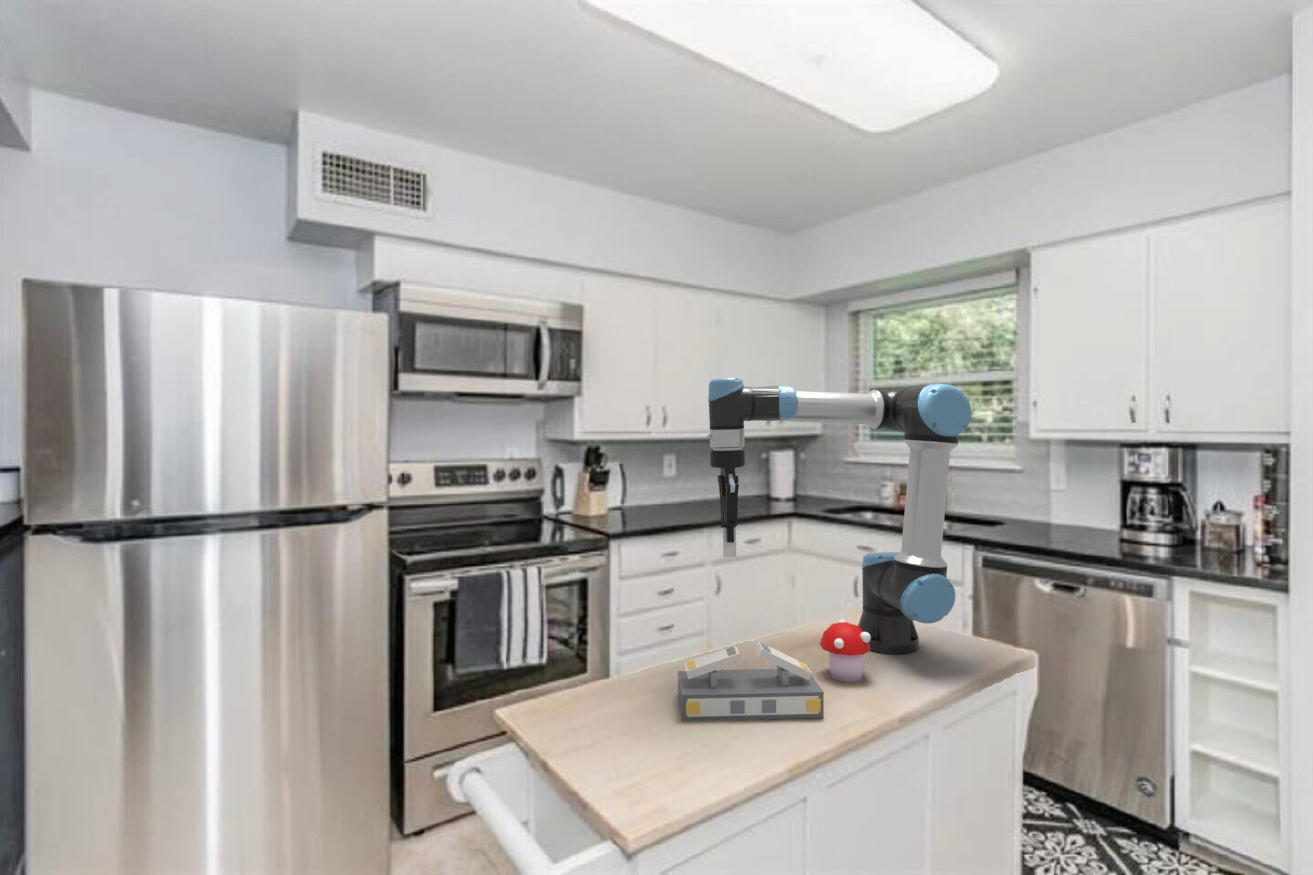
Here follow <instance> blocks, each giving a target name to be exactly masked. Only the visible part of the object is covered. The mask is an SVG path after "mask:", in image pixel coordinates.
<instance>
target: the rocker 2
mask: <svg viewBox="0 0 1313 875" xmlns="http://www.w3.org/2000/svg"><path fill="white" fill-rule="evenodd" d="M753 649H754V651H755V653H756V655H757V657H758V658H760V659H763V660H764V661H767V662H769V663H771V664H773V665H775V666H776V667H777V666H779V667H781V668H783V669H785V670H787V671H790V672H792V673H794V674H796V675H798V676H800V677H802V678H804V679H806V680H808V681H809V679H810V677H811V675H812V674H813V672H812V671H811V670H810V668H809V667H808V665H807V664H806V663H804V662H803V661H800V660H798V659H796V658H793V657H792V656H790V655H787V654H786V653H784V652H781V651H779V650H777V649H775V648H773V647H770V646H769V645H766V644H765V643H762V642H760V641H756V643H755V646H754V648H753ZM812 676H813V675H812Z"/></svg>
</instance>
